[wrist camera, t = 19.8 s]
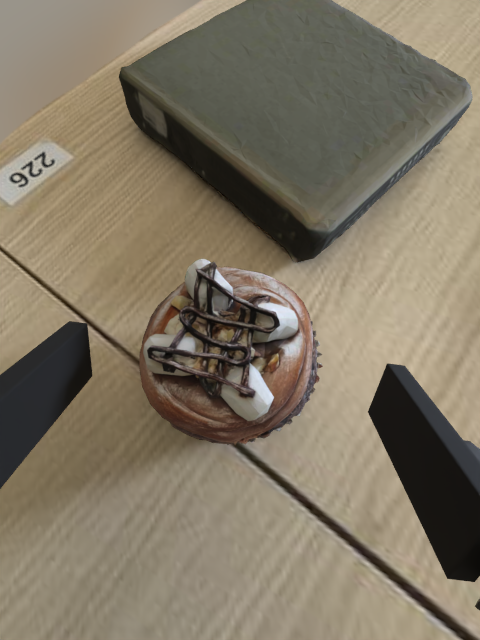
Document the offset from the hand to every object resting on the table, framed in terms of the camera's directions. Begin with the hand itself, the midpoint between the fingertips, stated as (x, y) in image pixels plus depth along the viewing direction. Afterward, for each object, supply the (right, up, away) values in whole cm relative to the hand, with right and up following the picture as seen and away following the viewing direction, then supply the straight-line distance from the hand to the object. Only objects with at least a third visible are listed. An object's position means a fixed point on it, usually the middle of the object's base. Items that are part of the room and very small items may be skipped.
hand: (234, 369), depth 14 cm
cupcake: (0, -1, +8) cm, 8 cm away
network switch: (+5, +20, +15) cm, 26 cm away
